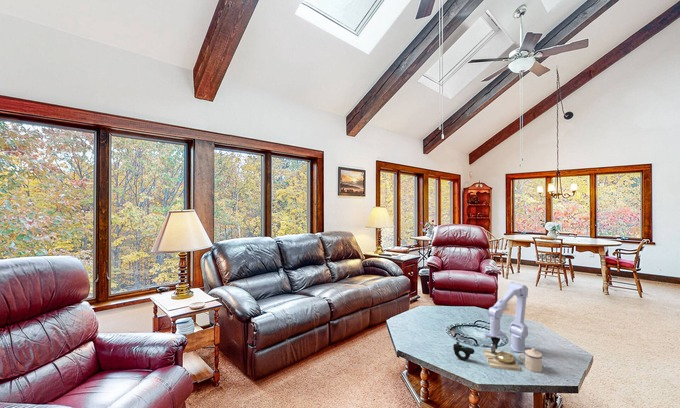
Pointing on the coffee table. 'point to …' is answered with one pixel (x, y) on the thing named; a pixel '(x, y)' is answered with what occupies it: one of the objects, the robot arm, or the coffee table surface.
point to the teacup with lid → (532, 360)
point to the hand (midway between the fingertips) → (495, 348)
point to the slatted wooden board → (497, 364)
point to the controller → (464, 349)
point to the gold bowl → (502, 355)
